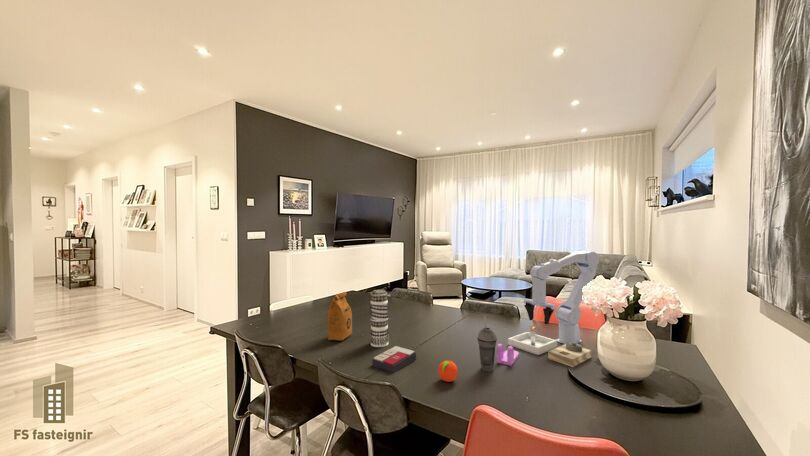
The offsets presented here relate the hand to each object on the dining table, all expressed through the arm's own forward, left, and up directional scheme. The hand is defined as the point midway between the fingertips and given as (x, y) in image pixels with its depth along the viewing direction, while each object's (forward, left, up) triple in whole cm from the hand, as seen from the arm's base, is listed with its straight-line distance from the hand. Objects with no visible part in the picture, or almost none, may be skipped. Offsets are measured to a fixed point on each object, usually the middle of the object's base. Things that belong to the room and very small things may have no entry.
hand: (538, 321), depth 148 cm
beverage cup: (+39, +2, -11) cm, 40 cm away
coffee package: (+69, -65, -11) cm, 95 cm away
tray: (+4, -1, -10) cm, 11 cm away
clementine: (+58, 0, -11) cm, 59 cm away
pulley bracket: (+4, +16, -10) cm, 20 cm away
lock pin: (+4, 0, -10) cm, 11 cm away
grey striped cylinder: (+58, -46, -11) cm, 74 cm away
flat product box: (+64, -24, -11) cm, 69 cm away
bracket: (+24, +1, -11) cm, 26 cm away
